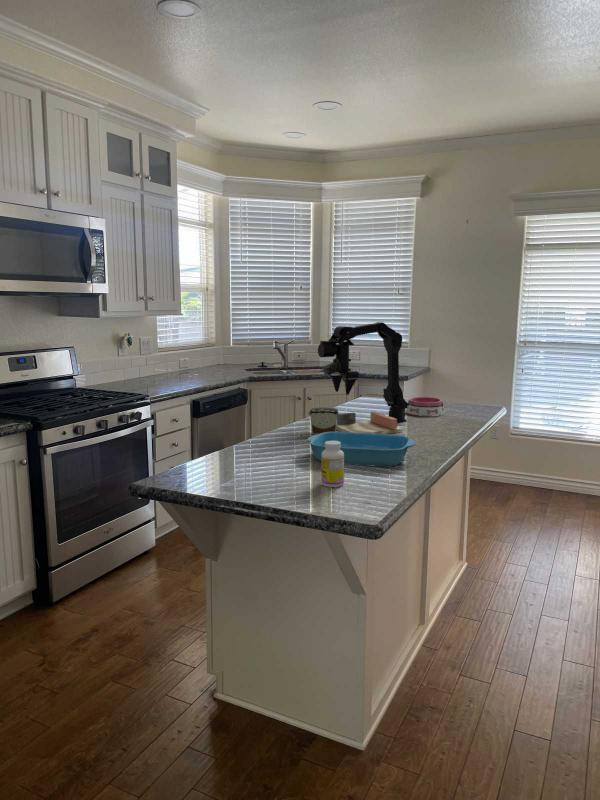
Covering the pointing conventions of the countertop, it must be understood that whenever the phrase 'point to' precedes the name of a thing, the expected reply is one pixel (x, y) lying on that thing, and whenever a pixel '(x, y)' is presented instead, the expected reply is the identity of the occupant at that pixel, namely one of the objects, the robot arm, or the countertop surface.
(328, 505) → the countertop surface
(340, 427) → the latch board
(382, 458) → the casserole dish
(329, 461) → the supplement bottle
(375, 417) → the latch bar
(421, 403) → the dog bowl
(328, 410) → the food container
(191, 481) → the countertop surface
